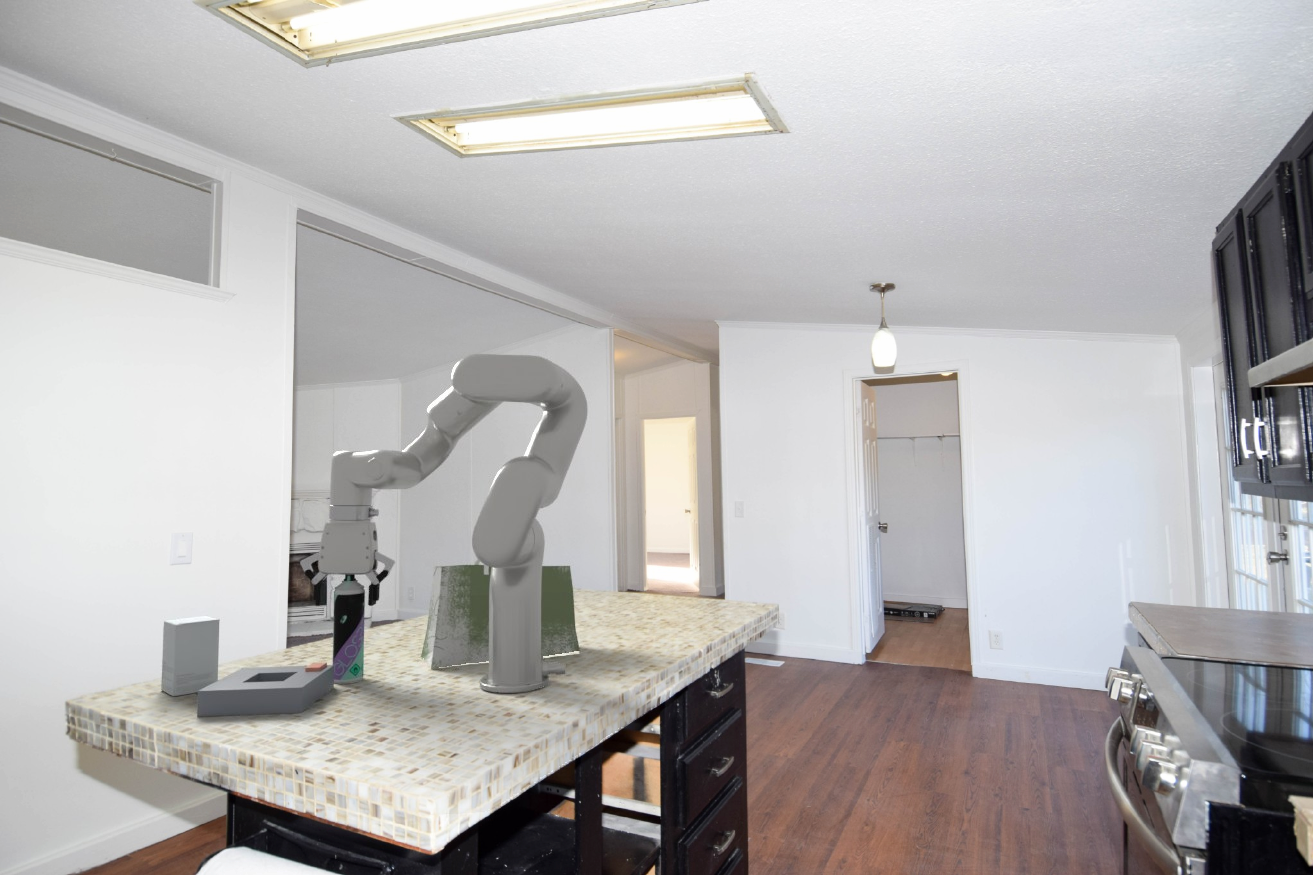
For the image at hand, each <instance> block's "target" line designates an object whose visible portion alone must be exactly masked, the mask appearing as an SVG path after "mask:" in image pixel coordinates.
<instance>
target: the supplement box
mask: <svg viewBox="0 0 1313 875" xmlns="http://www.w3.org/2000/svg"><path fill="white" fill-rule="evenodd" d="M162 630H163V634H162V639H163V640H162V659H161V660H162V661H161V663H162V664H161V668H162V669H161V688H160V689H161V691H163V692H164V693H166V694H168V695H170V696H172V697H178V696H183V695H185V696H186V695H190V694H195V693H196V694H197V693H198V691H199V690H201V689H203V688H205V687H207V686H209V685H211V684H212V683H214V682H216V681H218V680H219V648H220V646H219V644H220V618H215V617H212V616H208V615H201V616H192V617H183V618H177V619H169V620H164V621H163V629H162Z"/></svg>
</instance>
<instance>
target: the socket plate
mask: <svg viewBox="0 0 1313 875" xmlns="http://www.w3.org/2000/svg"><path fill="white" fill-rule="evenodd" d="M334 686H335V683H334V665H333V664H329V665H328V663H327V661H326V662H325V661H324V662H312V663H311V664H309V665H294V666H293V665H289V666H288V665H287V666H260V667H257V666H256V667H253V666H252V667H242V668H239V669H237V670H236V671H234V672H232V673H230V674H227V675H226V676H224V677H223V678H221V679H218V681H216V682H214V683H212V684H211V685H209V686H207V687H205V688H203V689H201V690H199V691H198V692H197V708H196V710H197V712H196V716H197V717H220V716H221V717H222V716H223V717H224V716H243V715H244V716H246V715H271V714H275V715H276V714H279V715H280V714H300V713H303V712H304V711H306V709H308V708H309V707H311V706H312V705H313V704H314V703H315V702H317V701H318V700H319V699H320V698H322V697H323V696H325V694H327V693H328V692H330V691H331V690H332V689H333V688H335V687H334Z"/></svg>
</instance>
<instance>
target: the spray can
mask: <svg viewBox="0 0 1313 875" xmlns="http://www.w3.org/2000/svg"><path fill="white" fill-rule="evenodd" d="M364 588H365V585H363V584H362V583H360V582H359V581H358V580H357V579H356V575H344V578H343V580H341V583H339V584H338V585H337V586H335V587H334V591H333V626H332V627H333V628H332V630H333V631H332V665H334V684H338V685H346V684H353V683H357V682H361V681H363V680H364V666H365V665H364V664H365V663H364V662H365V660H364V658H365V612H366V611H365V610H366V609H365V607H366V605H365V604H366V603H365V600H366V590H365V589H364Z"/></svg>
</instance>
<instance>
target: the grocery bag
mask: <svg viewBox="0 0 1313 875" xmlns="http://www.w3.org/2000/svg"><path fill="white" fill-rule="evenodd" d="M480 563H481V561H480V560H479V559H478V558H477V557H476V559H475V561H474V562H473V564H460V565H440V566H433V575H432V584H431V592H430V594H431V595H430V601H429V608H428V609H429V610H428V617H427V618H428V619H427V625H426V626H427V627H426V632H425V636H424V641H423V646H422V651H421V655H420V658H421V657H422V658H424V660H426V661H428V663H429V665H430V667H431V669H433V670H436V669H435V668H439V667H447V666H452V665H461V664H466V663H479V662H486V661H489V585H490V575H491V568H492V567H489V566H487V565H485V564H480ZM573 588H574V587H573V579H572V571H571V566H570V565H542V581H541V655H543V656H549V655H555V654H562V653H569V652H574V651H580V652H581V650H580V645H579V640H578V634H577V629H576V617H575V616H576V615H575V613H576V612H575V599H574V597H575V596H574V589H573ZM422 658H421V659H422ZM424 660H423V661H424ZM430 667H429V668H430ZM431 669H430V670H431Z"/></svg>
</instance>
